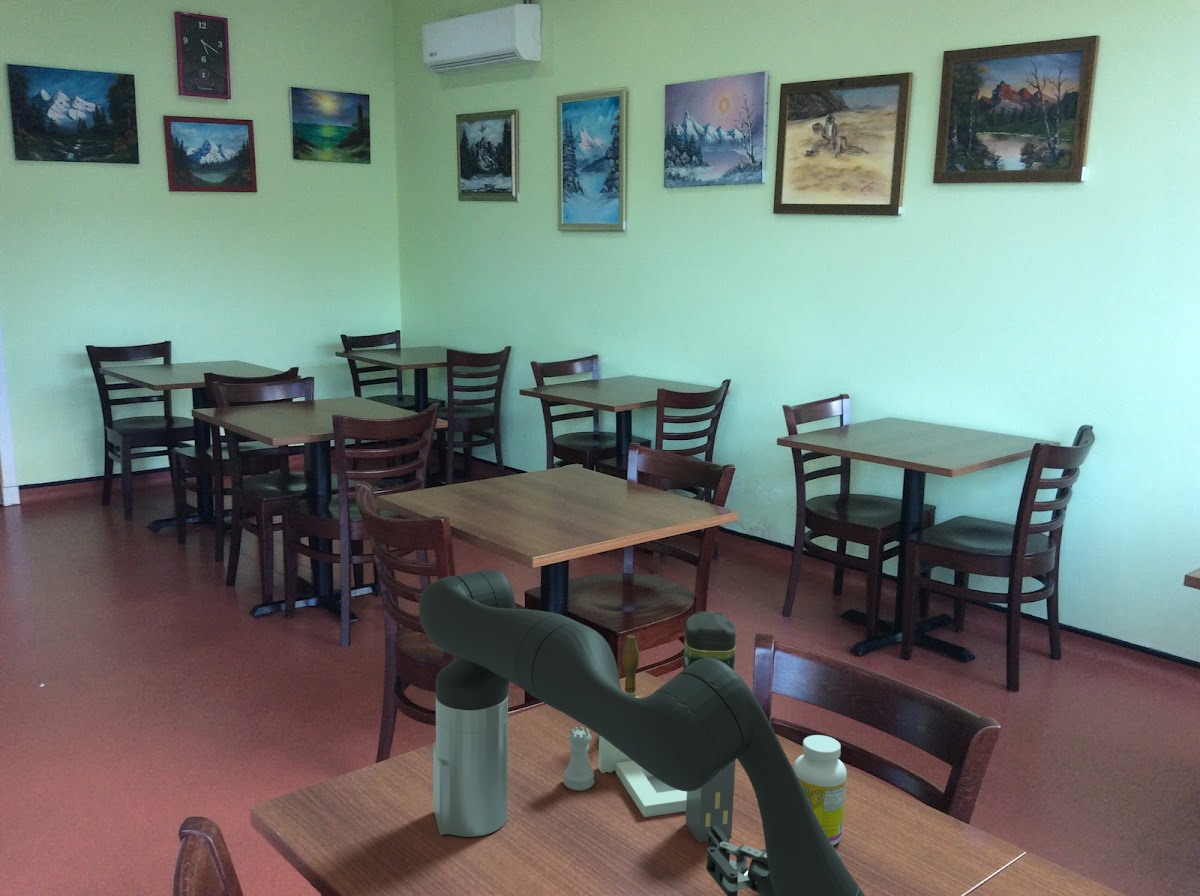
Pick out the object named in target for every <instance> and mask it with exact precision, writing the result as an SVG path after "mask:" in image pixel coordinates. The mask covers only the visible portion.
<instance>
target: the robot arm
mask: <svg viewBox="0 0 1200 896" xmlns="http://www.w3.org/2000/svg"><path fill="white" fill-rule="evenodd" d="M515 599H516V598H515V594H514V590H513V587H512V585H511V583H510V581H509V579H508V578H507V576H506V574H503V573H502V572H501V571H499V570H497V569H483V570H477V571H471V572H466V573H461V574H460V573H459V574H455V575H451V576H446V577H442V578H439V579H438V580H435V581H433V582H431V583H430V584H428V586H426V587H425V589H424V590H423V592H422V594H421V596H420V599H419V603H418V615H419V616H418V617H419V620H420V624H421V627H422V628H423V631H424V633H425V634H426V636H427V637H428V639H429V640H430V641H431V642H432V644H433V645H435V646H436V647H437V648H438V649H440V650H441V651H443V652H445V653H446V654H449V655H452V656H454V657H456V658H454V659H453V660H452V661H451V662H449V663H448V664H447V665H445V666H444V667H443V668H441V670H440V671H439V672H438V674H437V676H436V679H435V744H434V745H433V747H432V748H433V750H432V751H433V753H432V754H433V755H432V757H433V759H432V761H433V762H432V763H433V764H432V765H433V767H432V768H433V771H432V772H433V780H432V781H433V783H432V785H433V814H434V817H435V821H436V824H437V828H438V833H439V834H440V835H441V836H442V835H451V836H456V837H465V838H468V837H469V838H474V837H480V836H482V837H483V836H485V835H489V834H491V833H493V832H496V831H498V830H499V829H501V828H502V827H503V826H504V825H505V823H506V822H507V819H508V804H509V803H508V802H509V801H508V780H509V779H508V777H509V775H508V772H509V771H508V770H509V768H508V767H509V766H508V765H509V764H508V760H509V759H508V757H509V756H508V755H509V749H508V746H509V685H510V683H512V684H513V685H515V686H517V687H519V688H520V689H522V690H523V691H524V692H526V693H528V694H529V695H530V696H532V697H534V698H535V699H537V700H539V701H541V702H542V703H545V704H546V705H547V706H549V707H551V708H554V709H555V710H557V711H559V712H561V713H563V714H565V715H567V716H568V717H570V718H571V719H573V720H574V721H577V722H578V723H580V724H581V725H583V726H585V727H586V728H587V729H588V730H590V731H592V732H595V733H596V734H597V735H600V736H602V737H603V738H604V739H606V740H607V741H608V742H610V743H611V744H612V745H613V746H615V747H616V748H617V749H619V750H620V751H621V752H623V753H624V754H625V755H626V756H628V757H629V758H630V759H632V760H633V761H634V762H635V763H637V764H638V765H639V766H641V767H642V768H643V769H645V770H646V771H647V772H649V773H650V774H651V775H653V776H654V777H656V778H657V779H659V780H660V781H662V782H663V783H665V784H667V785H668V786H670V787H673V788H675V789H677V790H681V791H687V792H690V791H695V790H697V789H699V788H701V787H703V786H705V785H706V784H708V783H709V782H710V781H711V780H713V779H714V778H715V777H716V776H717V775H718V774H720V773H721V772H722V771H723V770H724V769H725V768H727V767H728V766H729V765H730V764H731V763H732V762H733V761H735V762H736V760H737V761H738V762H739V763H740V765H741V766H742V767H741V768H743V770H744V771H745V773H746V775H747V778H748V779H749V782H750V785H751V787H752V789H753V791H754V794H755V798H756V800H757V804H758V805H757V806H758V809H759V813H760V817H761V823H762V830H763V837H764V845H765V849H764V848H763V849H757V848H754V847H752V846H749V845H747V844H742V845H741V846H738V845H736V844H733V843H732V842H730V840H729V838H727V837H726V836H725V835H724V833H723V832H722V831H721V829H720V828H719V827H718V826H717V825H713V826H711V827H710V830H709V831H708V841H707V844H708V846H709V847H707V848H706V854H707V855H706V857H707V860H706V867H705V868H706V871H707V872H708V874H709V875H710V876H711V878H712V879H713V881H715V882H716V884H717V885H718V886H719V887H720V889H721V890H722V891H723V892H724V894H725V895H726V896H738V894H739V893H738V892H739V891H738V890H743V889H748V888H749V889H750V890H752V891H754V892H755V893H757V894H758V895H759V896H866V895H865V893H864V892H863V890H862V888H861V887H860V886H859V884H858V883H857V881H856V879H854V877H853V876H852V874H851V873H850V871H849V870H848V868H847V867H846V865H845V864H844V863H843V861H842V856H841V855H840V853H839V852H838V851H837V850H836V849H835V847H834V845H833V846H832V844H831V843H830V841H829V839H828V838H827V836H826V834H825V832H824V830H823V828H822V827H821V825H820V823H819V821H818V819H817V817H816V815H815V813H814V811H813V809H812V807H811V805H810V803H809V801H808V798H807V796H806V794H805V792H804V790H803V788H802V786H801V784H800V782H799V780H798V778H797V776H796V774H795V772H794V770H793V769H794V767H793V766H792V764H791V762H790V760H789V758H788V756H787V754H786V751H785V750H784V748H783V746H782V744H781V742H780V740H779V738H778V736H777V734H776V732H775V729H774V728H773V726H772V724H771V722H770V721H769V719H768V717H767V715H766V713H765V711H764V709H763V707H762V706H761V704H760V702H759V700H758V699H757V697H756V696H755V695H754V693H753V691H752V689H751V688H750V686H748V684H747V683H746V682H745V680H744V679H743V678H742V676H740V675H739V673H737V671H735V669H734V670H733V669H732V668H730V667H729V666H728V665H726V664H725V663H723V662H721V661H719V660H716V659H712V658H703V659H699V660H697V661H695V662H694V663H692V664H691V665H689V666H688V667H687V668H685V669H684V670H683V669H682V670H681V671H680V672H679V673H677V674H676V675H674V676H673V677H672V678H671V679H669V680H668V681H667V682H665V683H664V684H663V685H662V686H660V687H659V688H658V689H657V690H655V691H654V692H652V693H651V694H649V695H648V696H645V697H640V698H637V697H633V696H631V695H628V694H627V693H625V691H623V690H622V686H621V682H620V676H619V675H620V674H619V671H618V665H617V662H616V659H615V656H614V653H613V650H612V648H611V646H610V644H609V643H608V641H606V639H605V638H604V637H603V635H602V634H600V632H598V631H597V630H595V629H593V628H592V627H589V626H587V625H585V624H583V623H580V622H579V621H577V620H574V619H572V618H570V617H568V616H565V615H562V614H559V613H556V612H550V611H544V610H538V609H529V608H528V609H525V608H523V609H522V608H516V607H517V605H516V600H515ZM731 855H732V856H734V857H735V858H736V860H734V859H731ZM748 858H749V859H751V861H750V864H749V868H748V866H747V865H748Z"/></svg>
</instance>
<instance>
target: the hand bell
mask: <svg viewBox="0 0 1200 896" xmlns="http://www.w3.org/2000/svg"><path fill="white" fill-rule="evenodd" d="M621 653H622V666H623V670H624V673H625V678H624V679H625V683H624V684H625V685H624V692H625V693H627V694H628V695H631V696H633V697H637V698H641V697H640V696H638V695H637V690H636V689H637V688H636V686H637V685H636V674H637V670H638V666H639V662H640V661H639V660H640V650H639V646H638V643H637V640H636V636H635V635H634V634H628V635H626V638H625V642H624V645H623V649H622V652H621Z"/></svg>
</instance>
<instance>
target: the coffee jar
mask: <svg viewBox="0 0 1200 896" xmlns="http://www.w3.org/2000/svg"><path fill="white" fill-rule="evenodd" d="M684 627H685V630H684V631H685V632H684V646H683V647H684V651H683V666H682V668H683V669H682V671H683V670H684V669H685V668H687V667H688V666H689V665H691V664H692V663H694V662H695V661H697V660H699V659H703V658H712V659H716V660H719V661H721V662H723V663H725V664H726V665H728V666H729V667H730V668H732V669H733V670H734V671H735V665H736V662H735V661H736V644H737V642H736V641H737V640H736V634H737V633H736V627H735V625H734V623H733V621H732V620H731V619H729V617H727V616H725V615H724V614H723V613H722V612H717V611H716V612H714V611H696V612H695V613H694V614H692V615H691V616H689V617H688V618H687V619H686V623H685V624H684Z"/></svg>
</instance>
